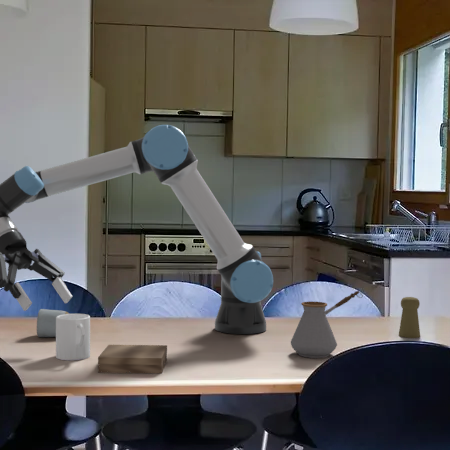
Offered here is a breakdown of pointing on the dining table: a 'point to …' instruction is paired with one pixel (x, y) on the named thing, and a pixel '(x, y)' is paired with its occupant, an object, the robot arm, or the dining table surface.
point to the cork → (409, 318)
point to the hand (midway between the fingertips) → (49, 303)
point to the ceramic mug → (47, 322)
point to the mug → (72, 336)
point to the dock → (133, 359)
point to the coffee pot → (316, 330)
